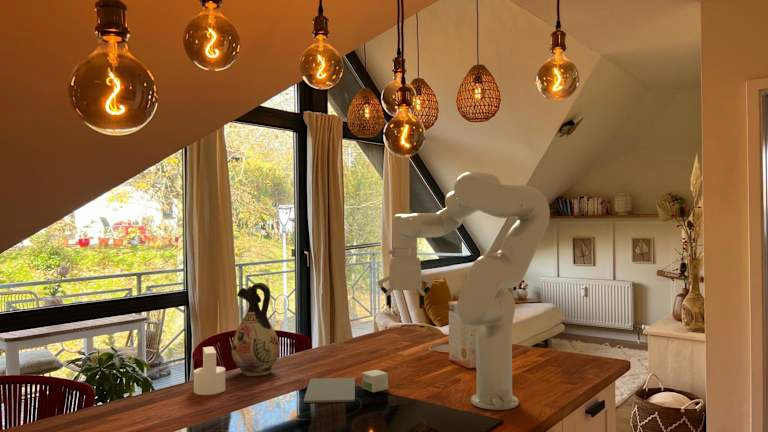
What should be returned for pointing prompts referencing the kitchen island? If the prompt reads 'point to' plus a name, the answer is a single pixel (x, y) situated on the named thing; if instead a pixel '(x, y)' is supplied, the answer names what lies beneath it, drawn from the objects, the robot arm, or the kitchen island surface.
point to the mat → (330, 390)
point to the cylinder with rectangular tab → (209, 375)
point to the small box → (375, 380)
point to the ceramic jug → (255, 335)
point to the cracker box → (461, 339)
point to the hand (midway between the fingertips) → (405, 307)
